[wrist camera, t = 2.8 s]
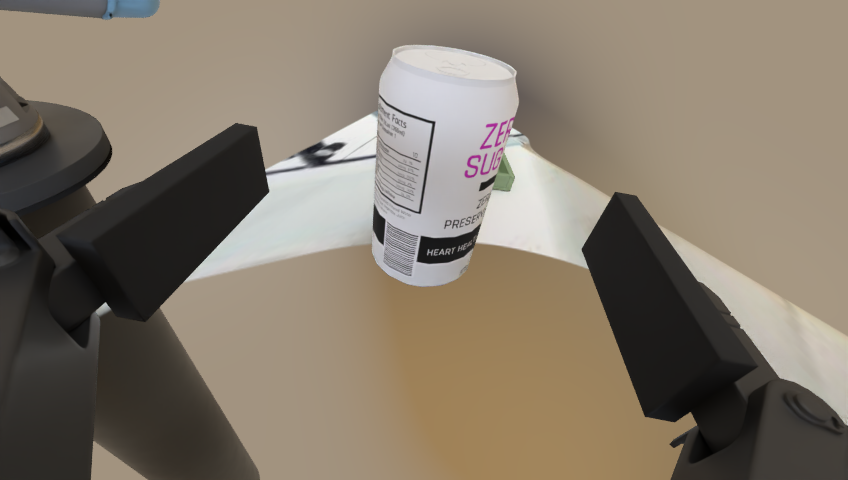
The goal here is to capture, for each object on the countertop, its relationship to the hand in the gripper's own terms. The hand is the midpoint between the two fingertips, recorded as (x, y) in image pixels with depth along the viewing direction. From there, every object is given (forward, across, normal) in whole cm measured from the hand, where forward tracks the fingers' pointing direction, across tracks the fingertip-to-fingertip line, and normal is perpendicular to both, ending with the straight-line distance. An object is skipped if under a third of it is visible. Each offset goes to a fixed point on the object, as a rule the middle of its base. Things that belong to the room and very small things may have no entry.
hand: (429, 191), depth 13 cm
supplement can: (+10, 0, -12) cm, 16 cm away
